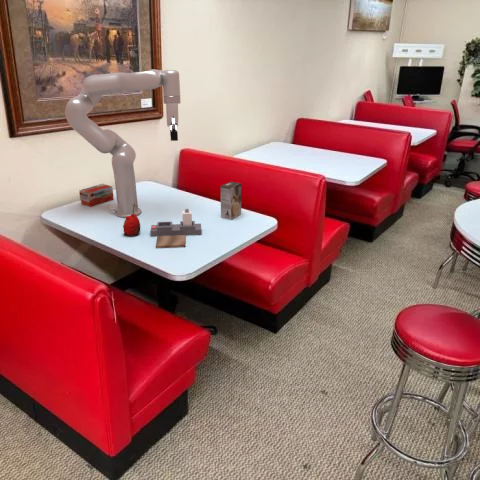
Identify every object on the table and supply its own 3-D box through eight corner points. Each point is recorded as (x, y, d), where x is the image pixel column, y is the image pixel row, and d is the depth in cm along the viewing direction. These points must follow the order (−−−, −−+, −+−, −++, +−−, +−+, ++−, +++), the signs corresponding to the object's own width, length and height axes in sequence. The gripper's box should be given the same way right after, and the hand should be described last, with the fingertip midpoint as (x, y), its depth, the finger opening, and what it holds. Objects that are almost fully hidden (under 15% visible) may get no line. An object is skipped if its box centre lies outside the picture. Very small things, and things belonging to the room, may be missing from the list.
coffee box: (230, 212, 216) (230, 181, 209) (241, 214, 213) (242, 183, 206) (220, 217, 209) (220, 185, 202) (231, 220, 205) (231, 188, 199)
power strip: (150, 236, 187) (150, 228, 186) (151, 230, 194) (151, 221, 192) (201, 234, 190) (201, 226, 188) (201, 228, 196) (200, 220, 194)
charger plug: (183, 228, 189) (182, 211, 186) (183, 225, 193) (182, 208, 189) (192, 228, 189) (191, 211, 186) (192, 225, 193) (191, 207, 190)
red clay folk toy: (133, 229, 194) (129, 197, 188) (144, 232, 191) (142, 200, 185) (120, 235, 188) (117, 202, 182) (132, 238, 185) (129, 205, 179)
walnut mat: (155, 248, 177) (155, 245, 176) (157, 238, 186) (157, 236, 185) (185, 247, 178) (185, 244, 178) (185, 237, 187) (185, 235, 187)
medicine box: (104, 197, 235) (102, 183, 231) (114, 200, 231) (112, 185, 227) (80, 204, 223) (78, 189, 220) (90, 208, 219) (88, 192, 216)
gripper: (163, 97, 200) (165, 135, 207) (163, 102, 184) (166, 142, 191) (179, 97, 201) (181, 134, 208) (181, 102, 185) (183, 142, 192)
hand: (174, 138), depth 199 cm, fingers open, 9 cm apart
